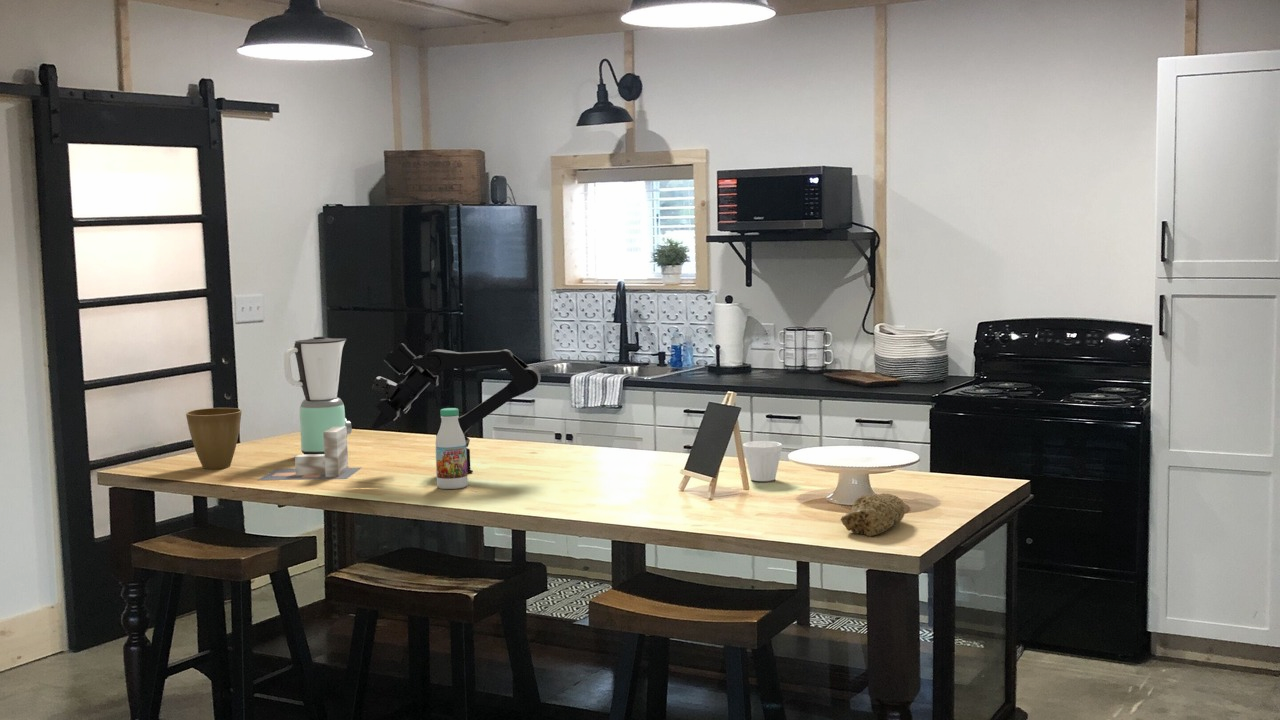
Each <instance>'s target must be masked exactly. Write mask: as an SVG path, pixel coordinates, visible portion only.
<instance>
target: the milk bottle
mask: <svg viewBox="0 0 1280 720" xmlns="http://www.w3.org/2000/svg"><path fill="white" fill-rule="evenodd" d="M439 410H440V411H439V412H440V418H441V419H440V421H441V422H440V424H441V425H439V428H440V429H439V428H438V429H439V432H438V434H437V433H436V434H437V437H436V438H435V468H436V469H435V470H436V486H437V488H438V489H442V490H458V489H463V488H466V487H467V486H468V484H469V483H468V473H467V455H466V441H465V436H466V435H465V434H463V432H462V430H461V428H460V425H459V422H458V417H460V416H459V415H460V413H459V411H460V410H459V408H457V407H446V408H441V409H439ZM464 435H465V436H464Z"/></svg>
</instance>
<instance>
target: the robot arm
mask: <svg viewBox="0 0 1280 720" xmlns="http://www.w3.org/2000/svg"><path fill="white" fill-rule="evenodd" d="M383 361H384V362H385V364H387V366H389V367H390V368H391V369H392V370H393V371H394V372H396V373H397V374H398V375H399V376H400V375H402V374H403V375H405V376H406V375H407V374H408V373H409V374H408V375H407V376H406V377H405V378H404V379H402V381H400V382H398V383H396V382H394V381H392V380H390V379H388V378H385V377H383V376H376V377H375V379H374V381H373V382H372V384H373V385H372V387H371V389H372V390H374V391H379V392H380V393H383V394H385V397H386V398H381V399H379V401H377V403H375V405H374V406H375V408H376V409H377V410H378V411H379V413H378V414H377V416H376V418H375V420H374V422H373V423H372V425H371V429H373V431H374V430H376V429H379V428H381V427H382V426H385V425H388V424H389V423H391V422H394V421H396V420H397V419H398V418H401V416H402V415H401V413H402V412H403V414H407V413H408V411H409V410H410V409H411V408H412V403H413V402H414V401H415V400H416V399H418V397H420V394H421V393H422V392H423V391H424V390H425V389H426V388H427V387H428V386H429V385H430V384H431V385H432V386H433V387H438V386H439V384H440V383H439V375H433V374H434V373H439V372H440V373H441V372H444V371H445V372H446V371H448V370H452V369H457V368H460V367H461V368H463V367H482V366H483V367H485V366H502V367H503V368H504V369H505V370H506V371H507V372H508V373H509V374H510V375H511V376H512V377H513V379H512V380H510V382H509V383H508V384H506V385H505V386H504V387H503V388H501V389H500V390H499V391H497V392H496V393H494V394H492V395H491V396H490V397H488V398H487V399H485V400H484V401H482V402H481V403H480V404H478V405H477V406H476V407H474V408H473V409H471V410H469V411H468V412H467V413H465V414H462V415H461V416H459V417H458V422H459V425H460V428H461V430H462V432H463V434H464V436H465V441H466V455H467V474H471V473H473V470H472V469H471V450H470V449H471V448H469V445H470V441H471V439H470V438H468V437H467V436H466V433H467V432H468V431H469V430H470V429H471V428H472V427H473V426H474V425H476V424H477V423H479V422H481V420H483V419H485V418H486V417H488V416H489V415H490V414H492V413H493V412H495V411H496V410H497V409H499V408H500V407H502V406H503V405H504V404H506V403H508V402H509V401H510V400H512V399H514V398H516V397H520V396H521V395H523V394H526V393H528V392H530V391H532V390H534V389H535V388H536V387H538V385H539V384H540V383H541V379H542V378H541V376H542V375H541V372H540V371H539V370H538V369H537V368H535V367H534V366H529V365H528V364H527V363H525V362H524V361H523V360H522V359H520V358H519V357H517V356H516V355H515V354H514V353H513V352H512V351H511V350H509V349H501V350H488V351H487V350H486V351H485V350H483V351H467V352H466V351H465V352H464V351H463V352H459V351H453V350H447V349H438V348H437V349H433V350H431V351H429V352H427V353H426V354H424V355H421V354H420V355H418V356H416V355H415V354H414V353H413V352H412V351H411V350H410V349H409V348H408V346H407V345H406V344H404V343H403V342H402V343H399V345H398V346H397V347H395V348H394V349H393V350H392V351H390V352H389V353H388V354H387V356H386V357H385V358H384V359H383ZM423 368H425V369H423ZM412 369H413V370H412ZM410 371H411V372H410ZM432 373H433V374H432ZM439 426H441V423H440V424H439ZM439 429H440V427H438V429H437V431H436V435H435V436H436V437H437V434H438V432H439Z"/></svg>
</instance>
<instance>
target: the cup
mask: <svg viewBox="0 0 1280 720" xmlns="http://www.w3.org/2000/svg"><path fill="white" fill-rule="evenodd" d="M742 449H743V452H744V457H745V460H746V464H747V469H748V472H749V473H748V474H749V478H750V481H752V482H755V483H771V482H774V481H775V480H776V478H777V473H778V468H779V463H780V459H781V454H782V450H783V444H782V442H778V441H774V440H755V441H753V440H752V441H747V442H744V443H743V444H742Z"/></svg>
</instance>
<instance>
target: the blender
mask: <svg viewBox="0 0 1280 720" xmlns="http://www.w3.org/2000/svg"><path fill="white" fill-rule="evenodd" d="M346 341H347V338H331V337H326V336H315V337H312V338H308V339H300V340H295V343H294V346H293V347H291V348H288V349H286V351H284V354H283V366H284V375H285V376H284V377H285V379H286V382H287V383H288V384H289V385H291V386H294V387H300V388H301V389H302V391H303V395H304V398H305V399H303V401H302V402H301V403H300V406H299V424H300V448H301V449H300V450H301V451H300V452H301V453H302V455H304V454H324V434H323V432H325V431H327V430H328V429H330V428H332V427H341V426H346V429H347V435H350V434H352V432H353V431H352V430H353V428H352V422H351V421H350V420H347V418H346V412H345V411H346V410H345V405H344V402H343V400H342V399H341V398H340V397H338V391H339V383H340V373H341V364H342V354H343V350H344V349H343V348H344V345H345V343H346ZM292 354H295V358H296V363H297V368H298V375H299V380H298V381H297V380H295V379H294V378H293V375H292V374H293V373H292V367H291V366H292V365H291V355H292Z"/></svg>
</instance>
